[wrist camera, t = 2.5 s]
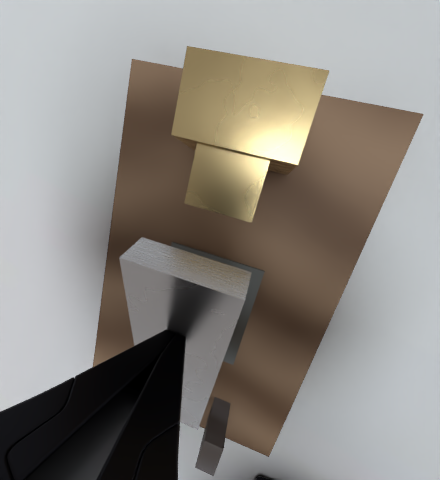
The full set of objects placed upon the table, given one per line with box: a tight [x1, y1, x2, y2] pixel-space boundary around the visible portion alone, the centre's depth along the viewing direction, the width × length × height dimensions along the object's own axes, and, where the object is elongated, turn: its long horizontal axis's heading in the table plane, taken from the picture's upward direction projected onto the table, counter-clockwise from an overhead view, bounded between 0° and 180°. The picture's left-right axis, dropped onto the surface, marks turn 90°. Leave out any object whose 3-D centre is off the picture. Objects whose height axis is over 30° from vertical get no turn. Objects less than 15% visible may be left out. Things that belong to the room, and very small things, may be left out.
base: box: [93, 59, 423, 476], centre depth 13 cm, size 23×15×4 cm, turn 165°
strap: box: [119, 237, 252, 429], centre depth 11 cm, size 14×4×1 cm, turn 165°
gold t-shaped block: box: [171, 46, 329, 223], centre depth 9 cm, size 6×5×3 cm
